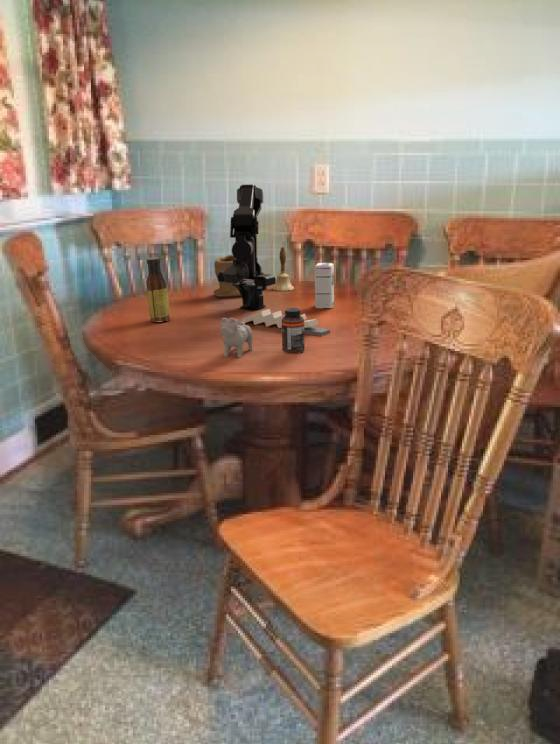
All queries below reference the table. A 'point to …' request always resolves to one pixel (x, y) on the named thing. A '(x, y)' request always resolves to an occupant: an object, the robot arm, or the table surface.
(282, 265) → the hand bell
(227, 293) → the stone cup
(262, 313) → the domino
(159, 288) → the sauce bottle
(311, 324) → the domino
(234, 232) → the robot arm
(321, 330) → the domino
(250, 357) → the table surface
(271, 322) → the domino
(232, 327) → the grey animal figure
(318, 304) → the syrup box
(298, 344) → the supplement bottle
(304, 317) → the domino
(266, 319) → the domino
